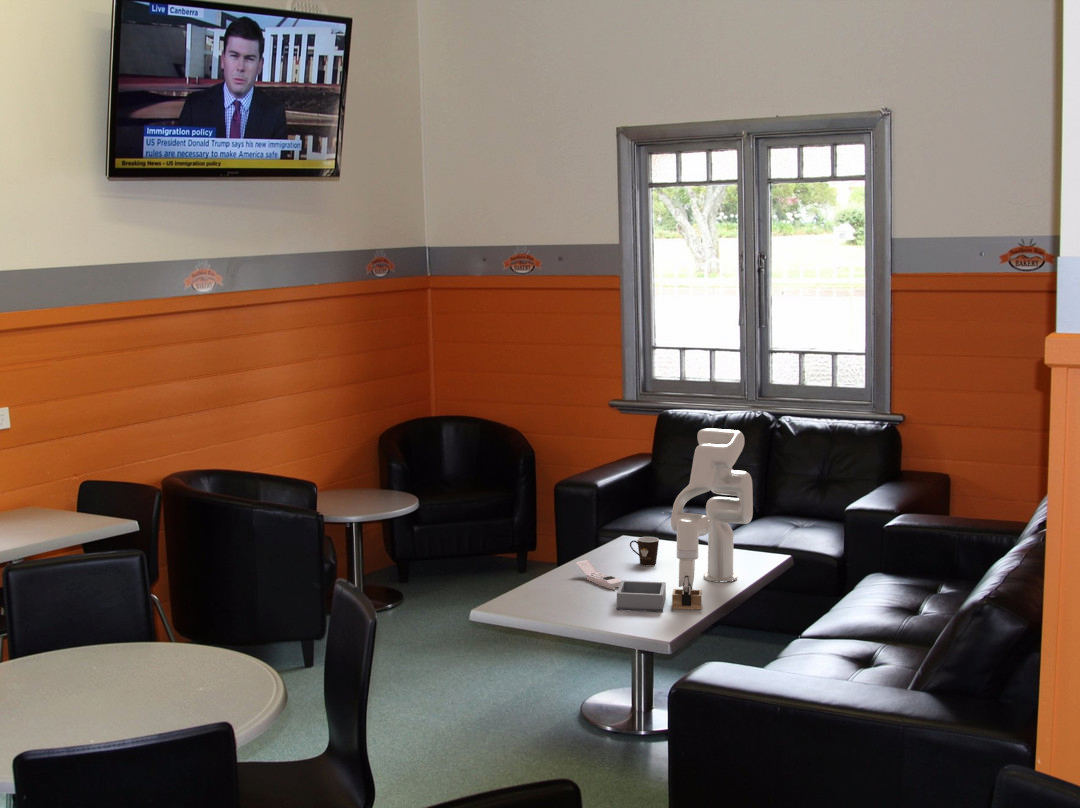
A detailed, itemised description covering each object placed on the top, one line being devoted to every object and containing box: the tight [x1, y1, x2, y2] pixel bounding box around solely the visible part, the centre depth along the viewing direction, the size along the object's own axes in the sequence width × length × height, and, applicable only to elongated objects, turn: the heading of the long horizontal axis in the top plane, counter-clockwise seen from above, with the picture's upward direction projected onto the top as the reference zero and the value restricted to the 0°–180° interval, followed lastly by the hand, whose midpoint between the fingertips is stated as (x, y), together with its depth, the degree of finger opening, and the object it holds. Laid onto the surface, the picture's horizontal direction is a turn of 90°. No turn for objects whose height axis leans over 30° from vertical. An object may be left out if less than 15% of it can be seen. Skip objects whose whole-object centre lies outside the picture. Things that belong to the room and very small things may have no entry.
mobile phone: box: [575, 559, 622, 591], centre depth 434 cm, size 6×6×25 cm
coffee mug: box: [629, 536, 660, 567], centre depth 460 cm, size 12×9×10 cm
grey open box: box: [616, 580, 667, 613], centre depth 406 cm, size 16×16×6 cm
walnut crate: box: [671, 588, 703, 610], centre depth 403 cm, size 7×10×5 cm
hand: (687, 601), depth 403 cm, fingers open, 8 cm apart
